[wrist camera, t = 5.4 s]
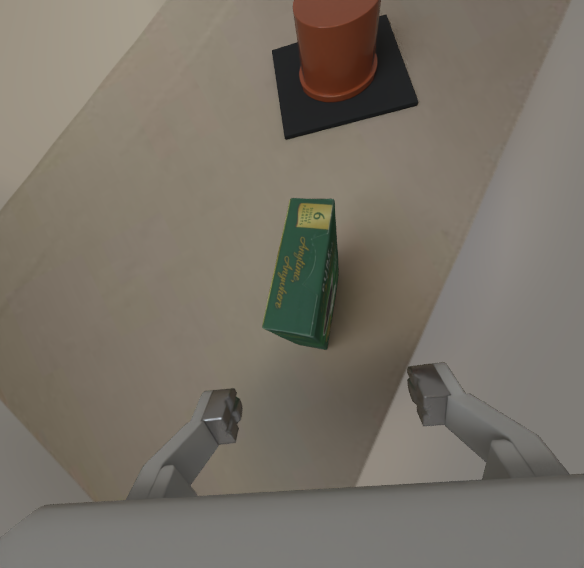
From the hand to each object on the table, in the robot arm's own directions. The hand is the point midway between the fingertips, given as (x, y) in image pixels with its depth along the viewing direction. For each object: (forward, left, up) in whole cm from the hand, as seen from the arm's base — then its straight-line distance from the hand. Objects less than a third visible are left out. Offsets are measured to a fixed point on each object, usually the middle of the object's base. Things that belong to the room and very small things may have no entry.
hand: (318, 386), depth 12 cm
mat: (-7, -36, -12) cm, 39 cm away
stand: (-7, -36, -12) cm, 39 cm away
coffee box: (0, -6, -13) cm, 14 cm away
